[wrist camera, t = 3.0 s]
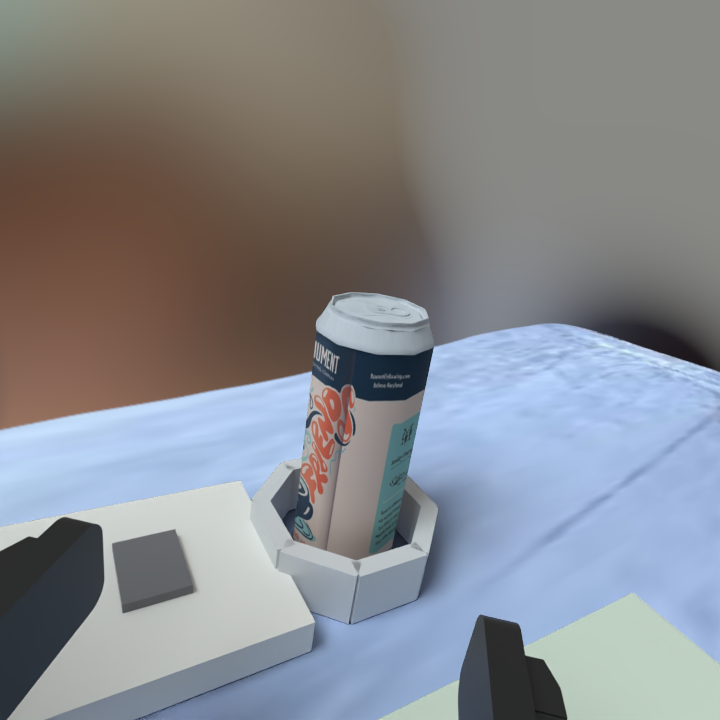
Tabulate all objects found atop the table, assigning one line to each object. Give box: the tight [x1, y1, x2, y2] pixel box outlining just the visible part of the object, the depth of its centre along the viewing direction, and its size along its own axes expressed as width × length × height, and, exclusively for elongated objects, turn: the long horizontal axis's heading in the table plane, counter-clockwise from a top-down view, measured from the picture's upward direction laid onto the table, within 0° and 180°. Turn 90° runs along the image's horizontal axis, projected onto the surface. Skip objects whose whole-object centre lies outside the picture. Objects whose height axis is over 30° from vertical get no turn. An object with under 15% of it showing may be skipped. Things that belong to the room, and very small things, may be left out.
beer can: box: [292, 292, 435, 560], centre depth 22 cm, size 5×5×12 cm
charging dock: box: [0, 458, 439, 720], centre depth 21 cm, size 22×9×2 cm, turn 119°
